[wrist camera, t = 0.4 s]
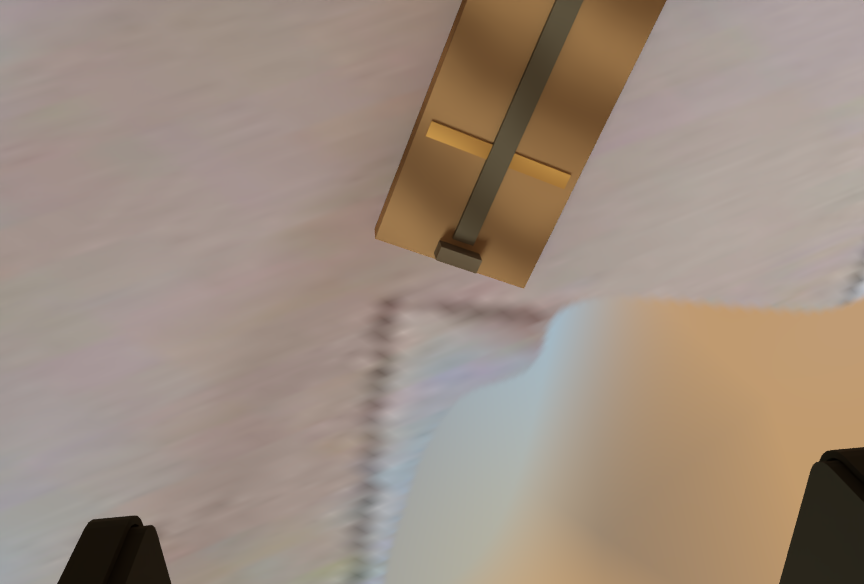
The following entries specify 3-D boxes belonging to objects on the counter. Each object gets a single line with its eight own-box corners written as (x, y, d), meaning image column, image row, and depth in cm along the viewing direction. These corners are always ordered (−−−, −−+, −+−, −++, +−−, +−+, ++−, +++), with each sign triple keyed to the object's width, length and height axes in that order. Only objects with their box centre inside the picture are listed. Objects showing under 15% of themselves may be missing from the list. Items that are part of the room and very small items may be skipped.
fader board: (545, -218, 29) (561, -234, 27) (714, -125, 31) (742, -133, 29) (374, 229, 37) (375, 245, 35) (518, 277, 39) (527, 296, 37)
